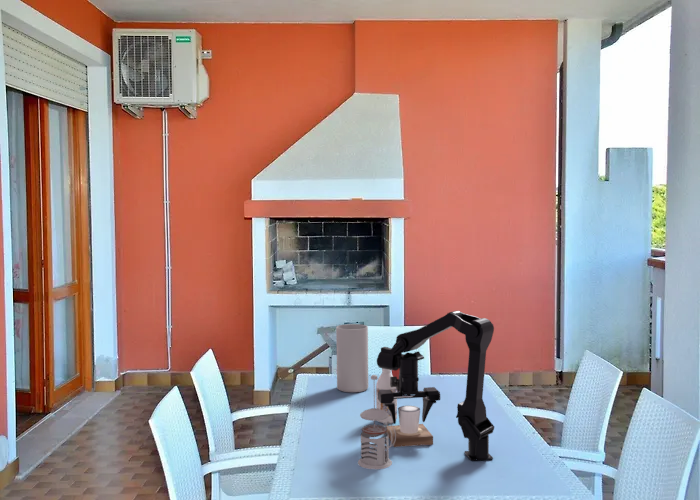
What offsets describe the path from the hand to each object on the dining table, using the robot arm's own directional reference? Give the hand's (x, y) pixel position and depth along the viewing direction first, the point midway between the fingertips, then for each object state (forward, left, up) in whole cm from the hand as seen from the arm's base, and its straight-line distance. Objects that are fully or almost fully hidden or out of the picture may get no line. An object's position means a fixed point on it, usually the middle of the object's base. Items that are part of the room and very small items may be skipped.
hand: (409, 422), depth 204 cm
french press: (-18, +14, -5) cm, 23 cm away
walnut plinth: (0, 0, -5) cm, 5 cm away
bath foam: (+19, +3, -5) cm, 20 cm away
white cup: (0, 0, -3) cm, 3 cm away
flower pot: (+56, -12, -5) cm, 58 cm away
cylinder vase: (+61, +8, -5) cm, 62 cm away
